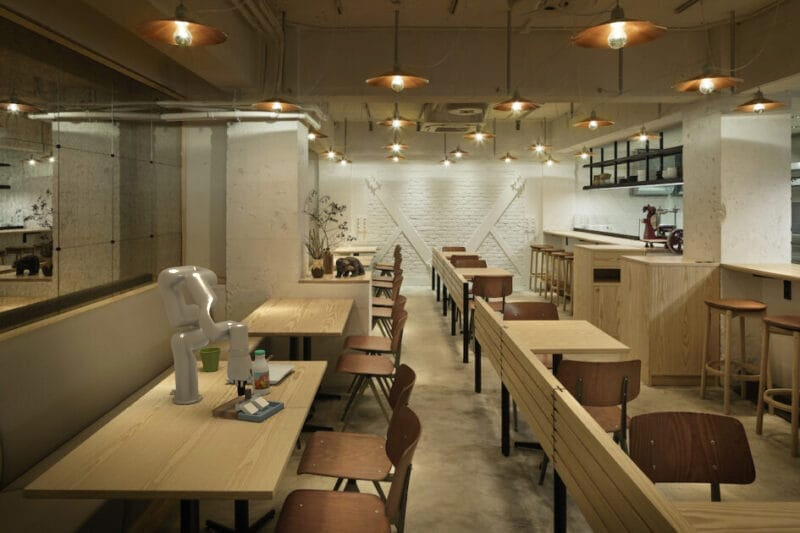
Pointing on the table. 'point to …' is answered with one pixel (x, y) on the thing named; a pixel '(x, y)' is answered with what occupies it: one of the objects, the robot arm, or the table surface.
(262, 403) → the white tile
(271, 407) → the box
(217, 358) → the plant pot
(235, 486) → the table surface
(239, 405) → the bar
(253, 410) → the white tile
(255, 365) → the milk bottle
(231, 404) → the walnut board
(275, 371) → the square plate
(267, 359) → the kitchen cleaver
